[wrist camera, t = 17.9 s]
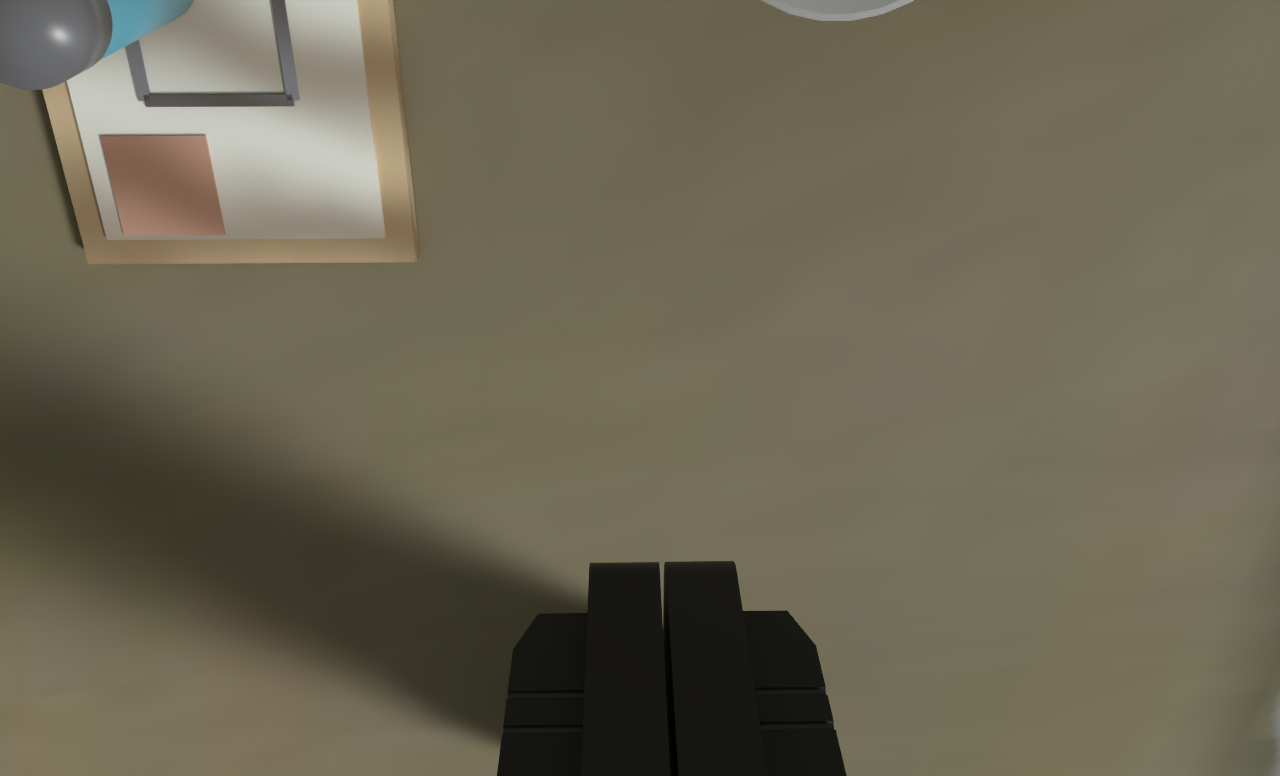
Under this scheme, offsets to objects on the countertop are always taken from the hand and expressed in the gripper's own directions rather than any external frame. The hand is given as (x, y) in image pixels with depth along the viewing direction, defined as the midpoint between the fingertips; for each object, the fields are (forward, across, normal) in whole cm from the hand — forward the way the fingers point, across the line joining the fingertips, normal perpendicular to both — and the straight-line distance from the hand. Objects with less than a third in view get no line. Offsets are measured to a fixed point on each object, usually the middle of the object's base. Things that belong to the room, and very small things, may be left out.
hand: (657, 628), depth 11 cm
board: (+29, +14, -1) cm, 32 cm away
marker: (+28, +16, -3) cm, 32 cm away
